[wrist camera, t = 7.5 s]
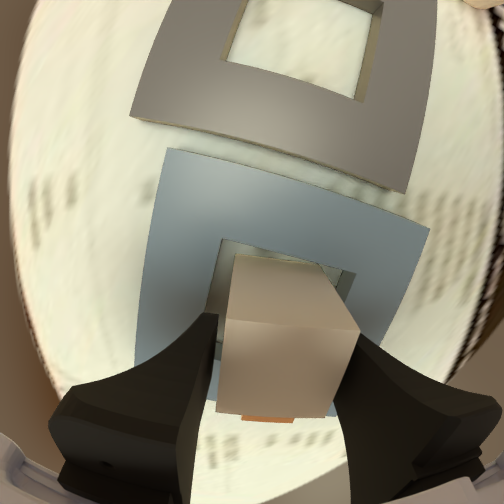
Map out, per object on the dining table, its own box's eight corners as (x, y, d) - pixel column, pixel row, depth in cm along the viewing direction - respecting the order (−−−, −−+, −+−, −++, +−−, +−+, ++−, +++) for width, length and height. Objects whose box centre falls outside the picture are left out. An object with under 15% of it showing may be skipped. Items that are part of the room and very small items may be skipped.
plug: (318, 263, 14) (360, 330, 8) (298, 346, 15) (318, 430, 9) (235, 252, 14) (226, 318, 8) (224, 338, 15) (214, 424, 9)
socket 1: (424, 5, 9) (437, -5, 8) (389, 190, 13) (404, 194, 11) (219, -61, 8) (217, -76, 7) (141, 120, 12) (129, 115, 10)
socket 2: (414, 222, 13) (430, 228, 12) (330, 400, 16) (335, 416, 15) (176, 149, 12) (167, 147, 11) (141, 363, 15) (133, 379, 14)
